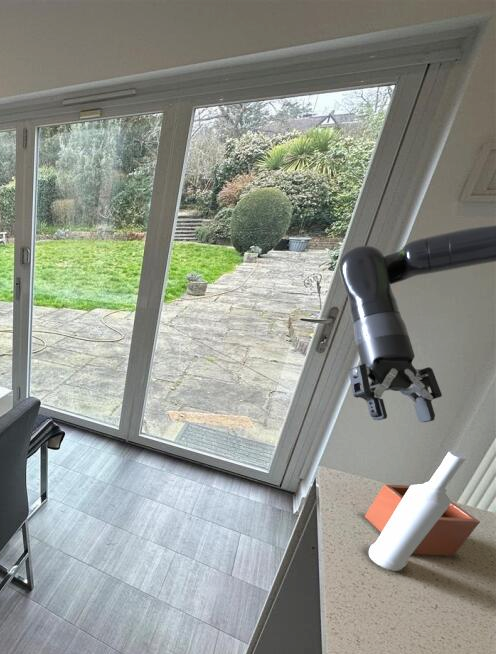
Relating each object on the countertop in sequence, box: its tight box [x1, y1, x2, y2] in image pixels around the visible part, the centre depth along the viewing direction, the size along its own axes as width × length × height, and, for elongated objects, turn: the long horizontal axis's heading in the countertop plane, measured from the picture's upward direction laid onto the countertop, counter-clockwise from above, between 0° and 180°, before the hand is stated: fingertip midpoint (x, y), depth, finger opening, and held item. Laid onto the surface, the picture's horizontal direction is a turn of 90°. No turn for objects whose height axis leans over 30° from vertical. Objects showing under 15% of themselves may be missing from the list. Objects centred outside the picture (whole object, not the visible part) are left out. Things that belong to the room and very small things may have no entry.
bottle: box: [368, 450, 467, 572], centre depth 72 cm, size 5×5×25 cm
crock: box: [364, 483, 481, 557], centre depth 81 cm, size 10×10×9 cm
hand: (403, 420), depth 76 cm, fingers open, 8 cm apart
